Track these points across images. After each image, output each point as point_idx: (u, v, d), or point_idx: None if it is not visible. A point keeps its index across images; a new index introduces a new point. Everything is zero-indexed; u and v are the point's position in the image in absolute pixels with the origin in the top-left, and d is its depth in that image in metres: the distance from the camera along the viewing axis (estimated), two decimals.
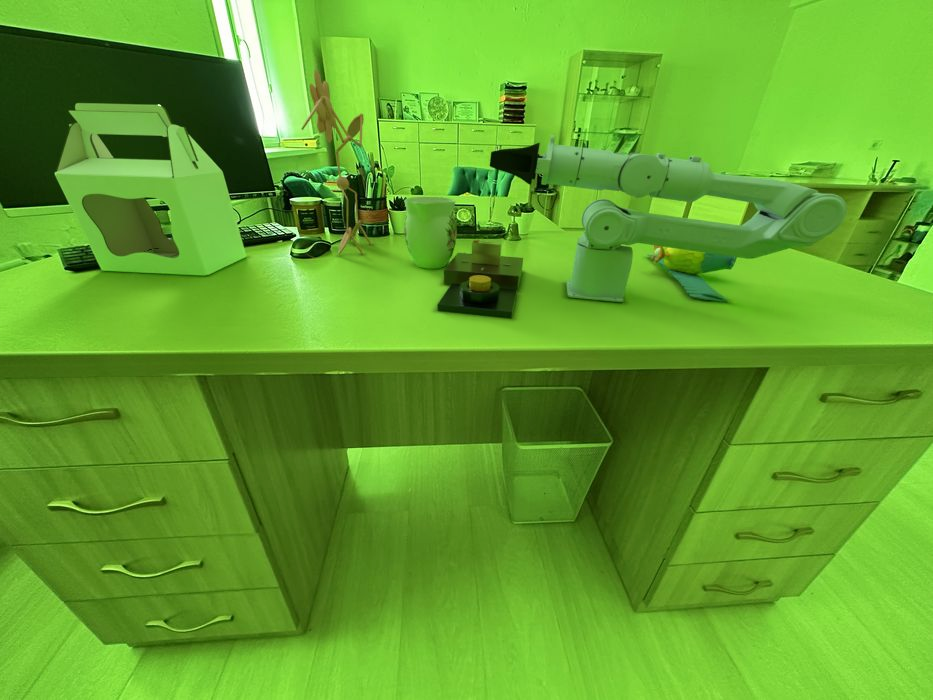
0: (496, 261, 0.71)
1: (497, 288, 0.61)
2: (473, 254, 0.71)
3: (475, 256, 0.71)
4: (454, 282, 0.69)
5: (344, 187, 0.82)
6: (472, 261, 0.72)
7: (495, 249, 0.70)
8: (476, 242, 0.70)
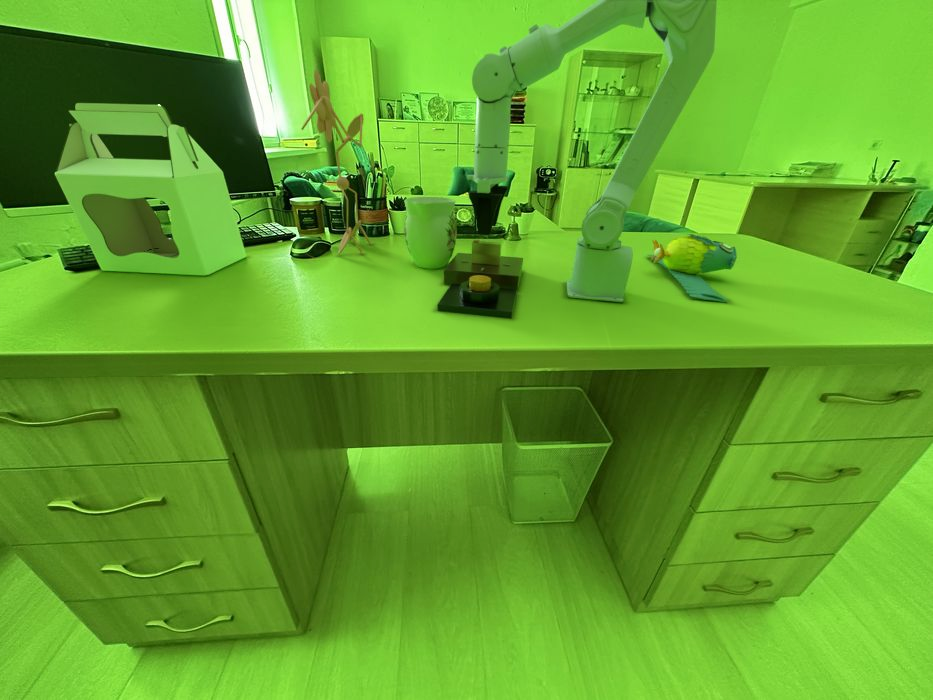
0: (496, 261, 0.71)
1: (497, 288, 0.61)
2: (473, 254, 0.71)
3: (475, 256, 0.71)
4: (454, 282, 0.69)
5: (344, 187, 0.82)
6: (472, 261, 0.72)
7: (495, 249, 0.70)
8: (476, 242, 0.70)
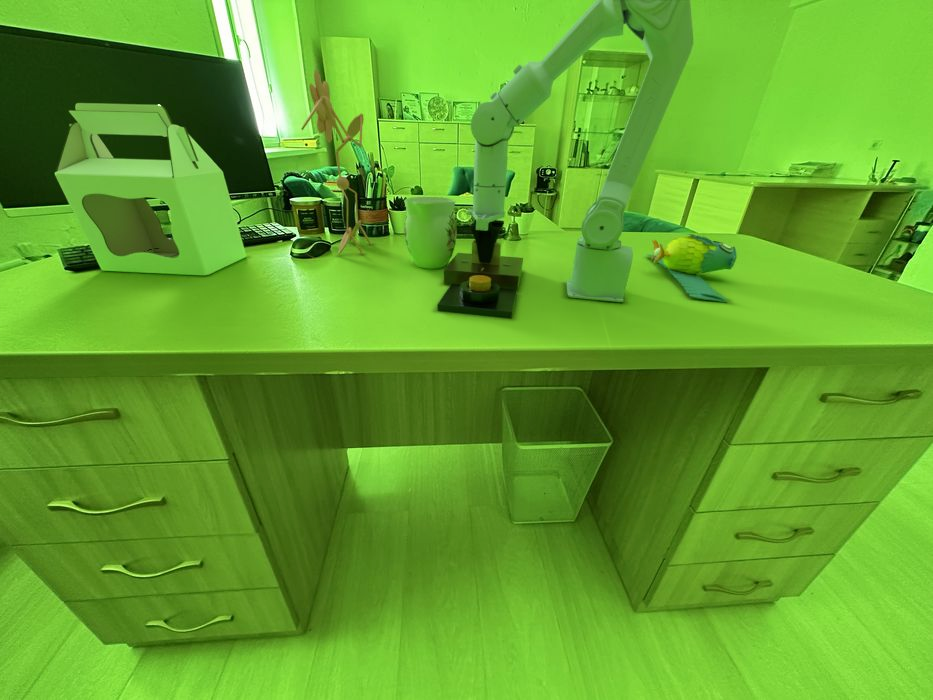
0: (496, 261, 0.71)
1: (497, 288, 0.61)
2: (473, 254, 0.71)
3: (475, 256, 0.71)
4: (454, 282, 0.69)
5: (344, 187, 0.82)
6: (472, 261, 0.72)
7: (495, 249, 0.70)
8: None
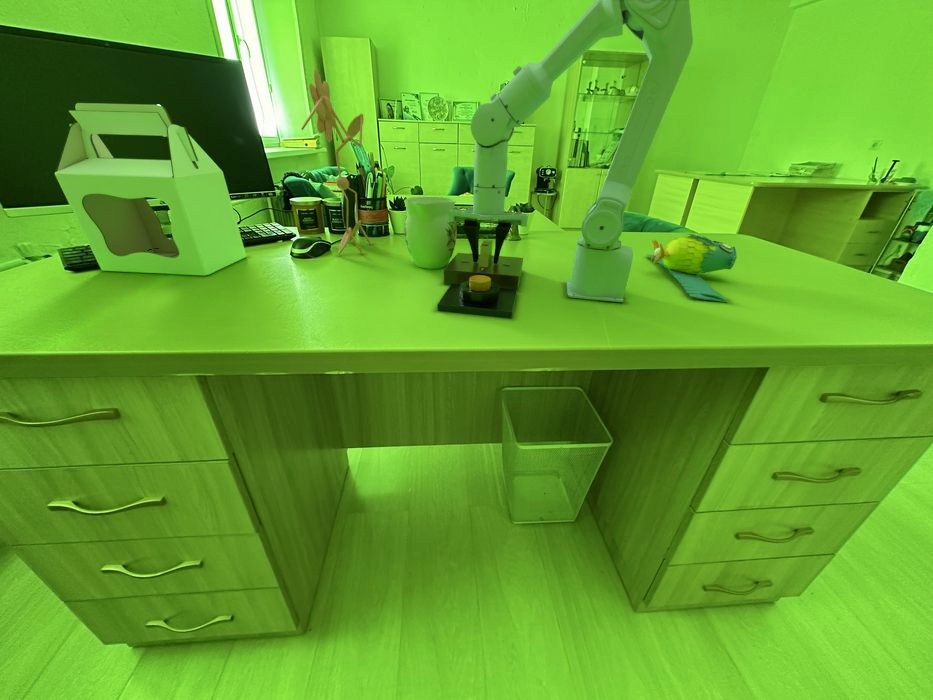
0: (491, 256, 0.74)
1: (497, 288, 0.61)
2: (488, 258, 0.69)
3: (488, 259, 0.70)
4: (454, 282, 0.69)
5: (344, 187, 0.82)
6: (488, 265, 0.70)
7: (491, 246, 0.72)
8: (488, 245, 0.69)
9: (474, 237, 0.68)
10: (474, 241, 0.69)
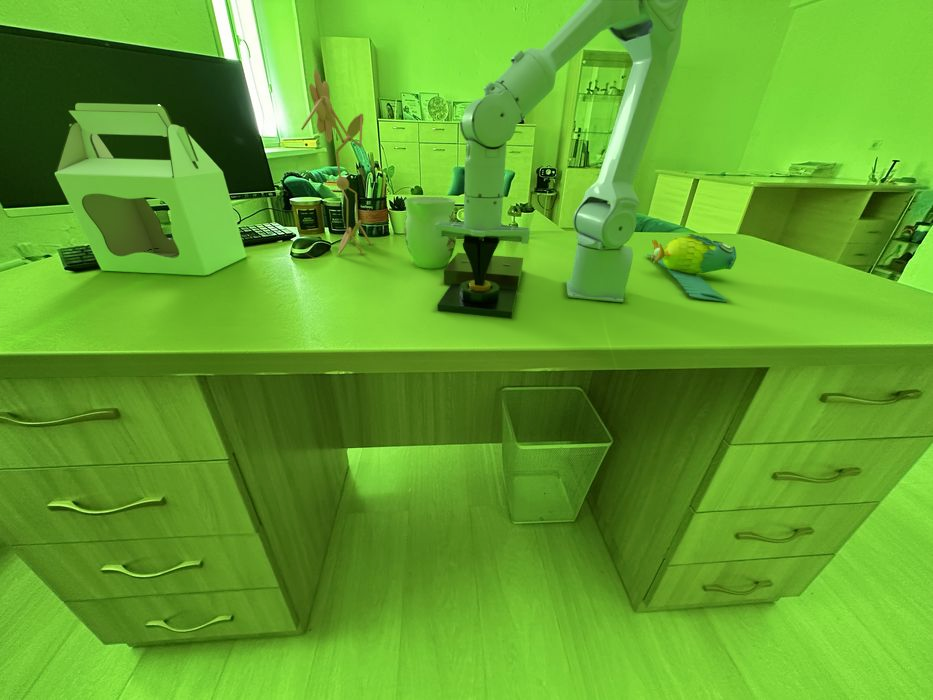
0: None
1: (497, 288, 0.61)
2: None
3: None
4: (454, 282, 0.69)
5: (344, 187, 0.82)
6: None
7: None
8: None
9: (476, 256, 0.57)
10: (476, 261, 0.57)
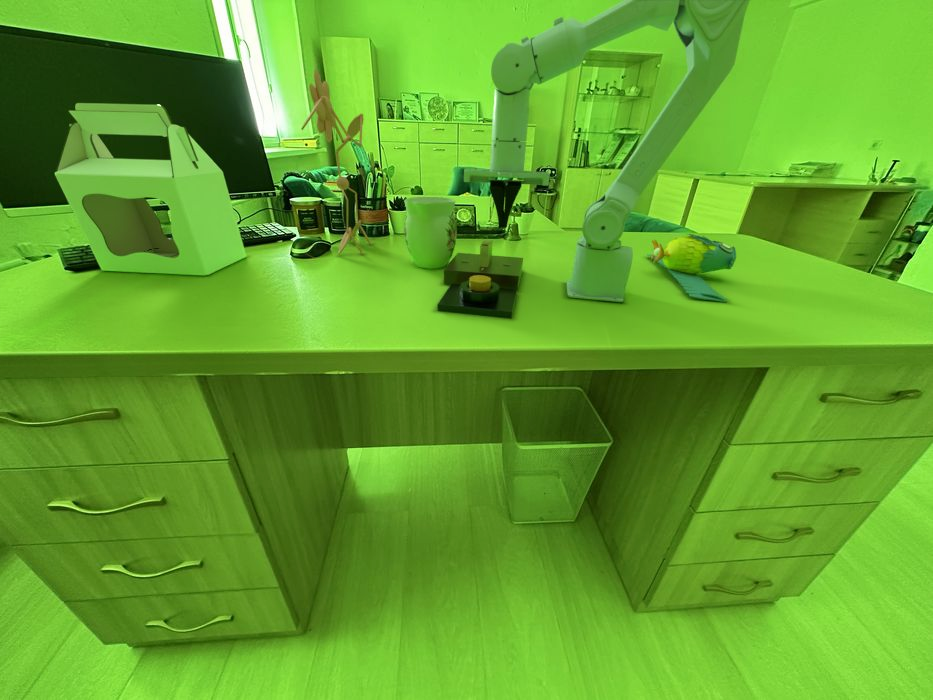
0: (491, 256, 0.74)
1: (497, 288, 0.61)
2: (488, 258, 0.69)
3: (488, 259, 0.70)
4: (454, 282, 0.69)
5: (344, 187, 0.82)
6: (488, 265, 0.70)
7: (491, 246, 0.72)
8: (488, 245, 0.69)
9: (501, 199, 0.63)
10: (501, 203, 0.64)
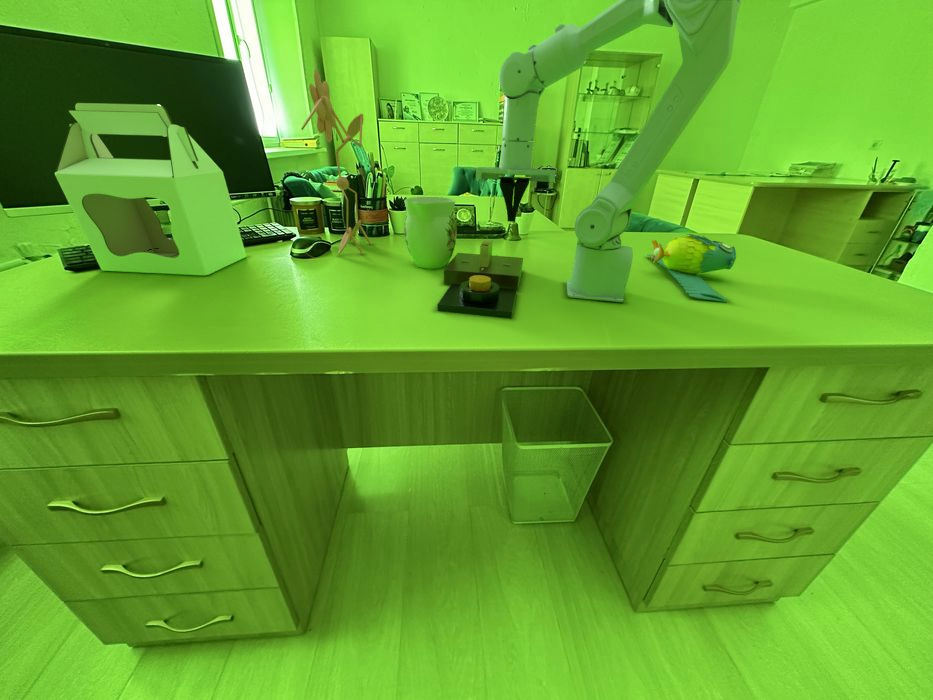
0: (491, 256, 0.74)
1: (497, 288, 0.61)
2: (488, 258, 0.69)
3: (488, 259, 0.70)
4: (454, 282, 0.69)
5: (344, 187, 0.82)
6: (488, 265, 0.70)
7: (491, 246, 0.72)
8: (488, 245, 0.69)
9: (510, 194, 0.68)
10: (510, 199, 0.69)
